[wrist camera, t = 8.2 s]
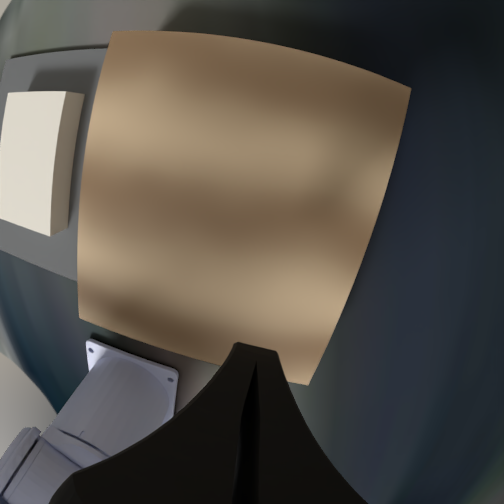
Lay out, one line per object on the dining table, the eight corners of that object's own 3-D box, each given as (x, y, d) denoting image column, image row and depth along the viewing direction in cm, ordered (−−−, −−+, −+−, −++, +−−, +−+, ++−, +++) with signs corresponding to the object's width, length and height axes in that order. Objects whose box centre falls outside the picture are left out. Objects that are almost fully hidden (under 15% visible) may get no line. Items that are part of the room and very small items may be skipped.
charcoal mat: (103, 287, 20) (100, 290, 20) (-7, 243, 20) (-10, 244, 20) (138, 49, 14) (135, 48, 14) (9, 60, 15) (6, 59, 14)
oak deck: (304, 344, 20) (307, 385, 16) (109, 289, 20) (79, 317, 16) (384, 99, 14) (411, 88, 11) (145, 50, 14) (112, 31, 11)
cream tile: (-3, 217, 16) (14, 210, 18) (50, 236, 16) (67, 227, 18) (8, 92, 13) (26, 93, 15) (66, 91, 13) (84, 94, 15)
